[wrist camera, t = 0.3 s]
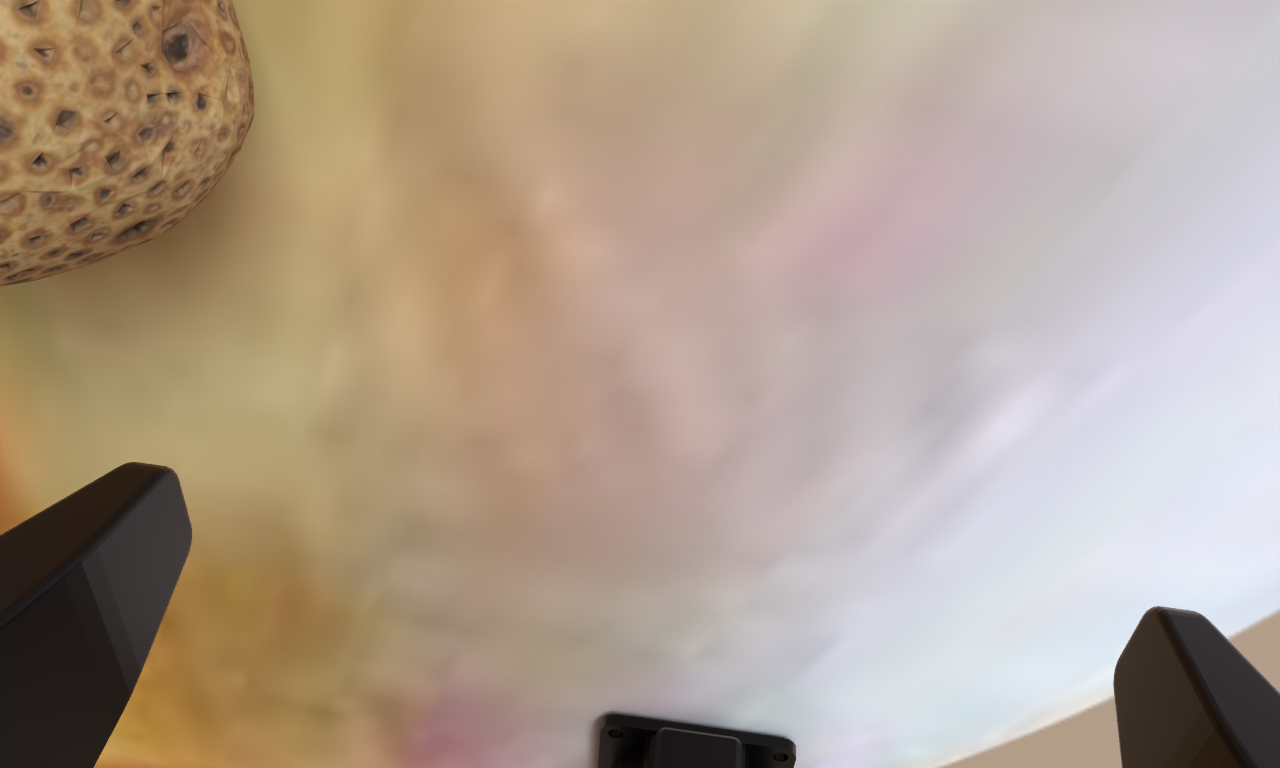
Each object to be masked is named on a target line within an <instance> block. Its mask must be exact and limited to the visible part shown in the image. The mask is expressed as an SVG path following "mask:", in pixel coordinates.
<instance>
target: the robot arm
mask: <svg viewBox="0 0 1280 768" xmlns="http://www.w3.org/2000/svg"><path fill="white" fill-rule="evenodd" d="M191 541H192V528H191V523H190V519H189V516H188V512H187V508H186V504H185V501H184V497H183V493H182V489H181V486H180V482H179V479H178V476H177V474H176V473H175V472H174V471H173V470H172V469H171V468H169V467H167V466H160V465H152V464H145V463H138V462H130V463H126V464H124V465H121V466H119V467H117V468H116V469H114V470H112V471H111V472H109V473H107V474H105V475H104V476H102V477H100V478H98V479H97V480H95V481H93V482H92V483H90V484H88V485H86V486H85V487H83V488H81V489H79V490H78V491H76V492H74V493H73V494H71V495H69V496H67V497H66V498H64V499H62V500H60V501H59V502H57V503H55V504H54V505H52V506H50V507H48V508H47V509H45V510H43V511H41V512H40V513H38V514H36V515H35V516H33V517H31V518H29V519H28V520H26V521H24V522H23V523H21V524H19V525H17V526H16V527H14V528H12V529H10V530H9V531H7V532H5V533H4V534H2V535H0V768H93V767H94V765H95V763H96V762H97V760H98V758H99V756H100V754H101V752H102V750H103V749H104V747H105V745H106V743H107V741H108V739H109V737H110V735H111V734H112V732H113V730H114V728H115V726H116V724H117V722H118V720H119V719H120V717H121V715H122V713H123V711H124V709H125V707H126V705H127V703H128V701H129V699H130V697H131V695H132V692H133V690H134V688H135V685H136V683H137V681H138V678H139V676H140V674H141V672H142V669H143V666H144V664H145V661H146V659H147V656H148V654H149V651H150V649H151V646H152V644H153V641H154V639H155V636H156V634H157V631H158V629H159V626H160V624H161V621H162V619H163V616H164V614H165V611H166V609H167V606H168V604H169V601H170V599H171V596H172V594H173V591H174V589H175V586H176V584H177V581H178V579H179V576H180V574H181V571H182V569H183V566H184V564H185V561H186V559H187V556H188V554H189V551H190V547H191ZM1114 695H1115V705H1116V714H1117V722H1118V733H1119V743H1120V752H1121V762H1122V768H1280V693H1279V692H1278V691H1277V690H1276V689H1275V688H1274V687H1273V685H1271V683H1270V682H1269V681H1268V680H1267V679H1265V677H1264V676H1263V675H1262V674H1261V673H1260V672H1259V671H1258V670H1257V669H1256V668H1255V667H1254V666H1253V665H1252V664H1251V663H1250V662H1249V661H1248V660H1247V659H1246V658H1245V657H1244V656H1243V655H1242V654H1241V653H1240V652H1239V651H1238V650H1237V649H1236V648H1235V647H1234V646H1233V645H1232V643H1231V642H1230V641H1229V640H1228V639H1227V638H1226V637H1225V636H1224V635H1223V634H1222V633H1221V632H1220V631H1219V630H1218V629H1217V628H1216V627H1215V626H1214V625H1213V624H1212V623H1211V622H1210V621H1209V620H1208V619H1207V618H1206V617H1204V616H1203V615H1201V614H1200V613H1197V612H1194V611H1189V610H1182V609H1175V608H1168V607H1161V606H1157V607H1153V608H1151V609H1149V610H1148V611H1146V613H1145V614H1144V615H1143V617H1142V619H1141V620H1140V622H1139V624H1138V626H1137V627H1136V629H1135V631H1134V633H1133V635H1132V636H1131V638H1130V640H1129V642H1128V643H1127V645H1126V647H1125V649H1124V650H1123V652H1122V654H1121V656H1120V657H1119V659H1118V662H1117V664H1116V668H1115V673H1114ZM795 761H796V745H795V744H794V743H793V742H792V741H790V740H789V739H785V738H779V737H772V736H765V735H758V734H751V733H744V732H737V731H730V730H723V729H716V728H709V727H701V726H694V725H687V724H680V723H673V722H666V721H659V720H652V719H645V718H638V717H631V716H623V715H608V716H606V717H605V718H604V719H603V721H602V726H601V733H600V749H599V764H598V768H794V764H795Z"/></svg>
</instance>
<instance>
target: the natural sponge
mask: <svg viewBox="0 0 1280 768" xmlns="http://www.w3.org/2000/svg"><path fill="white" fill-rule="evenodd" d="M253 117H254V95H253V82H252V76H251V70H250V63H249V58H248V53H247V50H246V47H245V43H244V40H243V37H242V34H241V30H240V27H239V24H238V21H237V17H236V14H235V11H234V8H233V5H232V2H231V0H0V286H4V285H10V284H16V283H23V282H29V281H35V280H38V279H42V278H45V277H49V276H52V275H56V274H59V273H63V272H66V271H69V270H72V269H76V268H79V267H82V266H85V265H88V264H91V263H94V262H96V261H99V260H102V259H105V258H108V257H110V256H113V255H115V254H118V253H120V252H122V251H125V250H127V249H130V248H132V247H135V246H137V245H139V244H142V243H144V242H147V241H149V240H151V239H153V238H155V237H157V236H158V235H160V234H161V233H163V232H165V231H166V230H168V229H170V228H171V227H172V226H174V225H175V224H176V223H177V222H179V221H180V220H181V219H183V218H184V217H185V216H186V215H187V214H188V213H189V212H190V211H191V210H192V209H193V208H194V207H195V206H196V205H198V204H199V203H200V202H201V201H202V200H203V199H204V198H205V197H206V195H207V194H208V193H209V192H210V190H211V189H212V188H213V187H214V185H215V184H216V183H217V182H218V180H219V179H220V178H221V177H222V176H223V174H224V173H225V172H226V170H227V169H228V167H229V166H230V164H231V163H232V161H233V160H234V158H235V157H236V155H237V154H238V152H239V150H240V149H241V146H242V144H243V142H244V139H245V137H246V135H247V133H248V131H249V128H250V125H251V122H252V120H253Z"/></svg>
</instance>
